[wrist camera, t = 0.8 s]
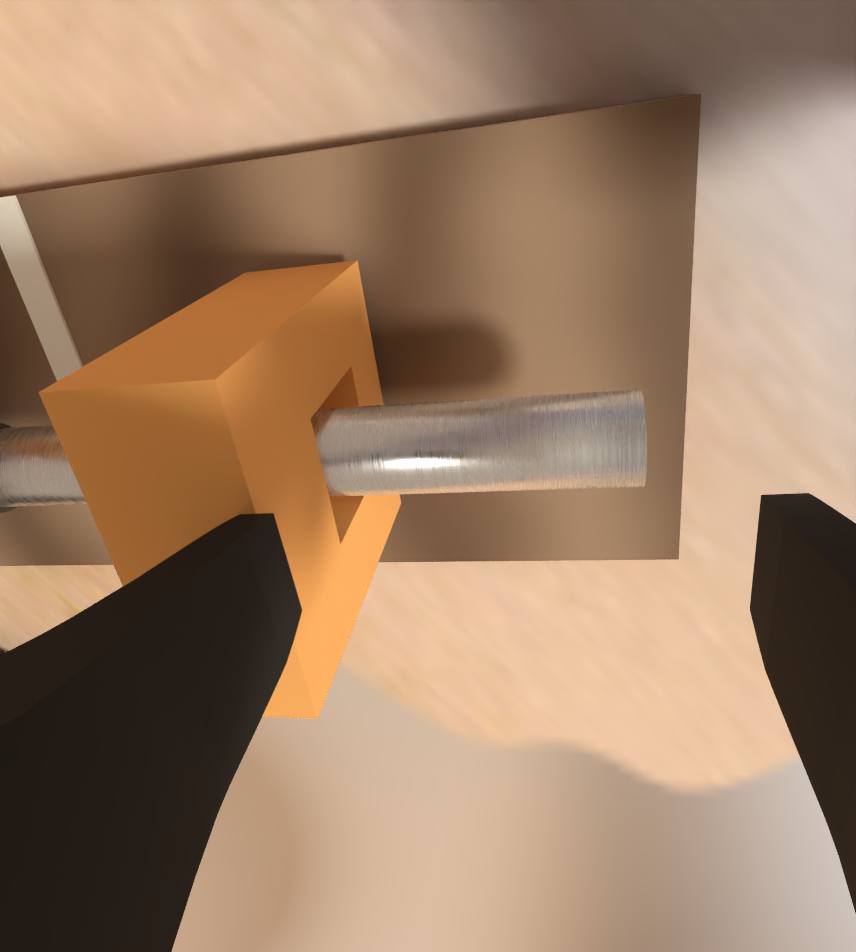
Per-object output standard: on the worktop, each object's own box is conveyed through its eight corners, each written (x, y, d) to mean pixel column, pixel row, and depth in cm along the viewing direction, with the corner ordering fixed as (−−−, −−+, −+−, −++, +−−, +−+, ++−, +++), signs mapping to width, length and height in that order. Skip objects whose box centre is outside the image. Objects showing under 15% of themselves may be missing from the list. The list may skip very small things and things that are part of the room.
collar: (357, 260, 17) (215, 379, 10) (401, 503, 20) (317, 718, 13) (245, 272, 17) (38, 392, 10) (305, 505, 21) (178, 713, 14)
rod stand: (692, 93, 15) (779, 97, 9) (673, 539, 21) (719, 723, 15) (-212, 227, 21) (-529, 284, 15) (-33, 550, 26) (-208, 687, 20)
